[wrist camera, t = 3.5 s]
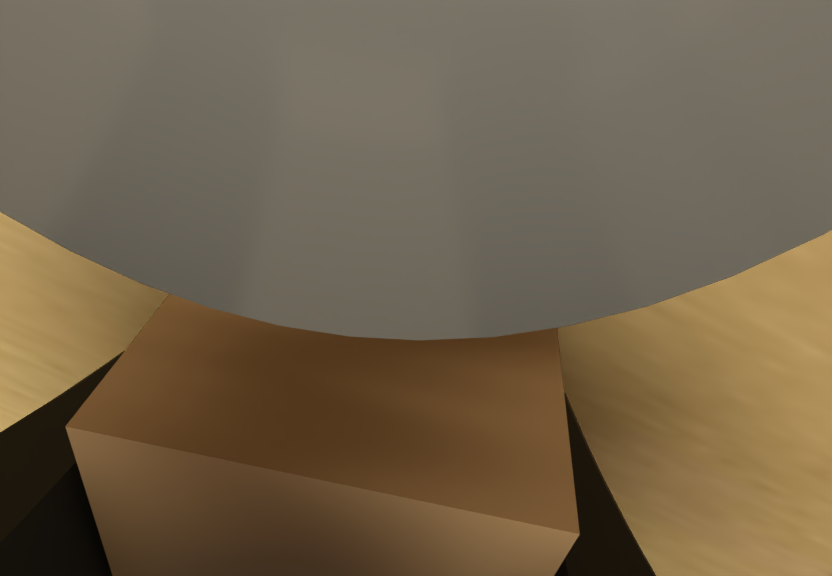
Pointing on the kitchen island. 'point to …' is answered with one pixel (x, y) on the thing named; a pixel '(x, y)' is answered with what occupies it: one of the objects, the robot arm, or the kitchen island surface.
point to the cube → (326, 452)
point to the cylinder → (419, 151)
